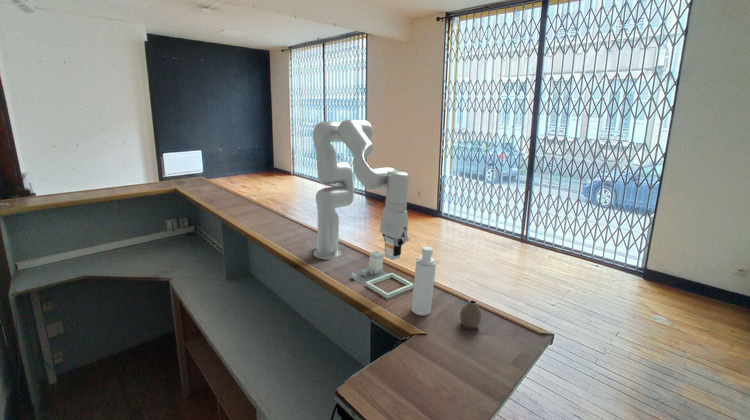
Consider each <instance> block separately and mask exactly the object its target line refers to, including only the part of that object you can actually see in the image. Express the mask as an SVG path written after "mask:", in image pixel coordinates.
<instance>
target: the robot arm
mask: <svg viewBox="0 0 750 420" xmlns="http://www.w3.org/2000/svg"><path fill="white" fill-rule="evenodd" d="M373 132H374V131H373V126H372V124H371V123H370V122H369V121H367V120H365V119H345V120H343V121H341V120H340V121H339V120H338V121H336V120H328V121H327V120H326V121H325V120H324V121H321V122H318V123H316V124H315V126H314V128H313V130H312V141H313V145H314V150H315V154H316V156H315V157H316V168H317V170H316V171H317V179H318V181H319V183H320V184H322V185H334V184H337V186H328V187H327V186H326V187H323V188H321V189H319V190H317V192H316V194H315V202H316V210H317V211H316V212H317V232H316V233H317V234H316V235H317V237H316V239H317V241H316V242H314V243H313V244H314V246H316V249H315V250H313V256H314V257H315V258H317V259H320V260H323V261H324V260H325V261H326V260H327V261H328V260H329V261H330V260H334V259H339V258H340V257H341V256H342V251H341V250H340V249H339V237H340V236H339V234H340V230H339V228H340V218H339V214H338V213H337V212H336V209H338V208H339V209H340V208H343V207H348V206H350V205H352V203H353V201H354V197H355V194H354V192H355V191H354V175H355V177H356V178H357V179H358V181H359V183H360V184H361V185H362V187H364V188H365V189H367V190H369V191H373V190H379V189H380V190H381V189H386V195H385V200H384V203H385V206H384V207H383V209H382V215H381V220H380V227H379V228H380V229H379V232H380V233H381V234H382V237H383V241H384V244H385V243H386V236H389V237H391V238H394V239H395V244H396V246H394V256H398V255H400V256H401V254H402V253H401V252H402V246H403V245H404V244H405V243H408V242H409V241H410V239H409V236H408V230H409V229H408V228H409V225H408V223H409V219H408V218H409V217H408V216H409V215H408V210H407V206H408V196H409V195H408V194H409V193H408V192H409V180H410V175H409V174H408V173H407V172H405V171H403V170H402V171H400V170H397V169H395V168H393V167H391V166H389V167H388V166H387V167H385V166H384V167H376V168H371V167H370V166H369V165H368V163H367V162H366V159H367V158H368V157H369V156H370V155H371V154H372V152H373V151H374V145H373V143H372V141H371V138H372V137H373V134H374V133H373ZM334 142H335V143H340V142H341V143H342V142H343V143H344V144H345V145H346V147H347V149H348V150H349V151H350V153H351V154H352V156H353V159H352V167H351V165H350V164H349V163H348V162H346V161H338V160H337V153H336V151H337V150H336V149H335V147H334V146H333V144H332V143H334ZM352 168H353V170H352ZM353 172H354V174H353ZM398 239H400V241H399V240H398Z"/></svg>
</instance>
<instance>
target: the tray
mask: <svg viewBox="0 0 750 420" xmlns="http://www.w3.org/2000/svg"><path fill="white" fill-rule="evenodd" d="M391 278H392V279H394V280H396V281H398V282H399V283H401V284H403V285H405V286H402V287H400V288H397V289H394V290H392V291H391V292H386V291H384V290H383V289H381V288H380V287H378V286H376V285H375V284H378V283H380V282H383V281H386V280H387V279H391ZM365 287H367V288H368V289H370V290H372V291H374V292H375V293H377V294H378V295H380V296H382V297H383V298H385V299H387V300H391V299H393V298H396V297H398V298H400V297H399V296H401V297H402V295H403V296H405V295H408V294H410V293H413V288H414V282H413V283H412V282H411V281H408V280H407V279H405V278H403V277H401V276H400V275H397V274H395V273H393V272H390V273H388V274H387V275H384V276H381V277H378V278H376V279H373V280H370V281H367V282H365ZM411 289H412V290H411ZM404 292H405V293H404ZM402 293H403V294H402ZM407 293H408V294H407ZM390 298H391V299H390ZM396 299H397V298H396ZM391 301H392V300H391Z"/></svg>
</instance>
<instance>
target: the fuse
mask: <svg viewBox="0 0 750 420" xmlns="http://www.w3.org/2000/svg"><path fill="white" fill-rule="evenodd" d="M384 256H385V253H382V252H380V251H378V250H375V251H371V252H369V259H368V261H369V262H368V267H370V268H372V269H374V270H373V273H374V274H378V273H381V272H383V271H384V268H383V266H384Z"/></svg>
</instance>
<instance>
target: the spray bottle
mask: <svg viewBox="0 0 750 420" xmlns="http://www.w3.org/2000/svg"><path fill="white" fill-rule="evenodd" d="M433 252H434V249H433V247H431V246H428V245H427V246H422V248H421V256H419V257H417V258H416V259H415V260H416V261H415V270H414V279H413V284H414V288H412V290H413V291H412V301H411V312H413V313H414V314H415V315H419V316H427V315H429V314H431V310H432V301H433V294H434V284H435V278H436V276H435V275H436V268H437V260H435V259H434V258H433V257H432V256H433Z"/></svg>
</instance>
